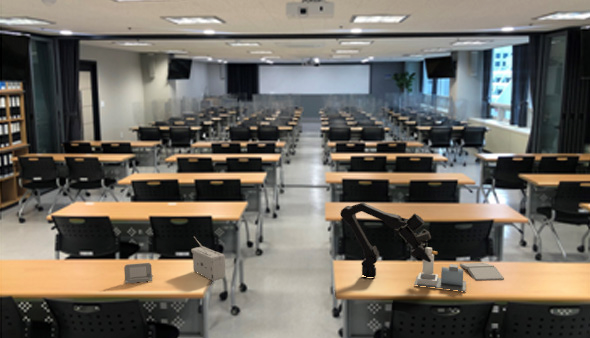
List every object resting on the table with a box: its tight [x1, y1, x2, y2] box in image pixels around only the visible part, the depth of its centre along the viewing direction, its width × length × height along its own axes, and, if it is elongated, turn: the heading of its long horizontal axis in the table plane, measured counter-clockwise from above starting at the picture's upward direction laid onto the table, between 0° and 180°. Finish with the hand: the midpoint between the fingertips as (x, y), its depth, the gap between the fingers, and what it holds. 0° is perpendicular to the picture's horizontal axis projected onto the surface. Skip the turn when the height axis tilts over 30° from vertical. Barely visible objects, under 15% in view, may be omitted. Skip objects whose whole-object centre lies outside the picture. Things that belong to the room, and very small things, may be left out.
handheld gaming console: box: [123, 262, 154, 285], centre depth 261 cm, size 13×9×10 cm
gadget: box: [459, 262, 505, 281], centre depth 268 cm, size 23×15×4 cm, turn 2°
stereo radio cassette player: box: [191, 236, 226, 282], centre depth 266 cm, size 21×8×20 cm, turn 42°
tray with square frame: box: [413, 263, 467, 293], centre depth 251 cm, size 24×13×10 cm, turn 70°
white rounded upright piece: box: [422, 246, 438, 274], centre depth 251 cm, size 7×5×12 cm
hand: (431, 259), depth 251 cm, fingers closed on white rounded upright piece, 5 cm apart
